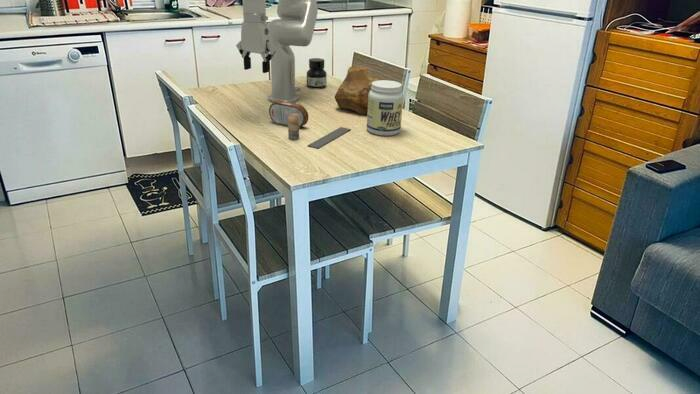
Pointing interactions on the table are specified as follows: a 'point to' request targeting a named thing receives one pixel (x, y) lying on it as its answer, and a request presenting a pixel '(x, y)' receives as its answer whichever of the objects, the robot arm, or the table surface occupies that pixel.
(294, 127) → the tan and grey cylinder
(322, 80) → the ink bottle
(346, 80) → the rough brown rock
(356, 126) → the table surface
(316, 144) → the strip
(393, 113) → the supplement tub
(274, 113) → the tin
